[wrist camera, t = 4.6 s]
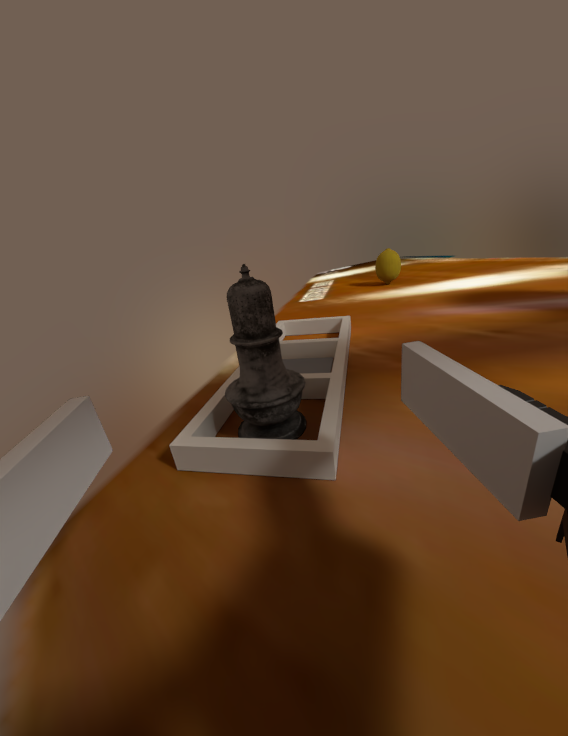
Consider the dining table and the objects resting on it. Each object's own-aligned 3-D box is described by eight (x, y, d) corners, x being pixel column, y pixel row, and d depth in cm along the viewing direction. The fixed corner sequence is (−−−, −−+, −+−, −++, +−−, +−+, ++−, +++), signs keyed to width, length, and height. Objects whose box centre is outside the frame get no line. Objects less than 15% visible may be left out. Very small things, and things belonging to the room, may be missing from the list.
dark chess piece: (299, 454, 20) (273, 264, 15) (220, 447, 22) (175, 275, 17) (317, 408, 25) (300, 254, 20) (251, 405, 27) (223, 264, 22)
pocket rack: (280, 333, 46) (278, 321, 45) (350, 329, 43) (350, 315, 43) (177, 469, 20) (169, 445, 19) (335, 480, 18) (333, 452, 17)
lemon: (397, 285, 68) (398, 248, 65) (373, 287, 71) (372, 250, 68) (402, 281, 73) (403, 245, 69) (379, 282, 75) (378, 248, 72)
